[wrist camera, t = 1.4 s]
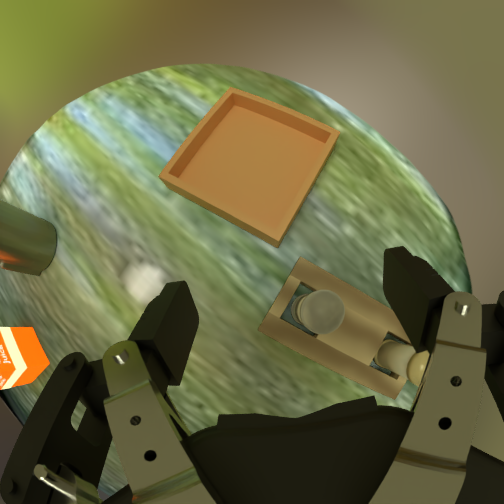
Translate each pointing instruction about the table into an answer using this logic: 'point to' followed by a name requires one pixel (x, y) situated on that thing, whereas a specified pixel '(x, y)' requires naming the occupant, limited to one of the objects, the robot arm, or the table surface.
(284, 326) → the fuse block
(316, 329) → the white domed cylinder
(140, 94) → the table surface
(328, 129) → the parts tray
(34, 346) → the orange juice
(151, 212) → the table surface
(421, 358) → the fuse
